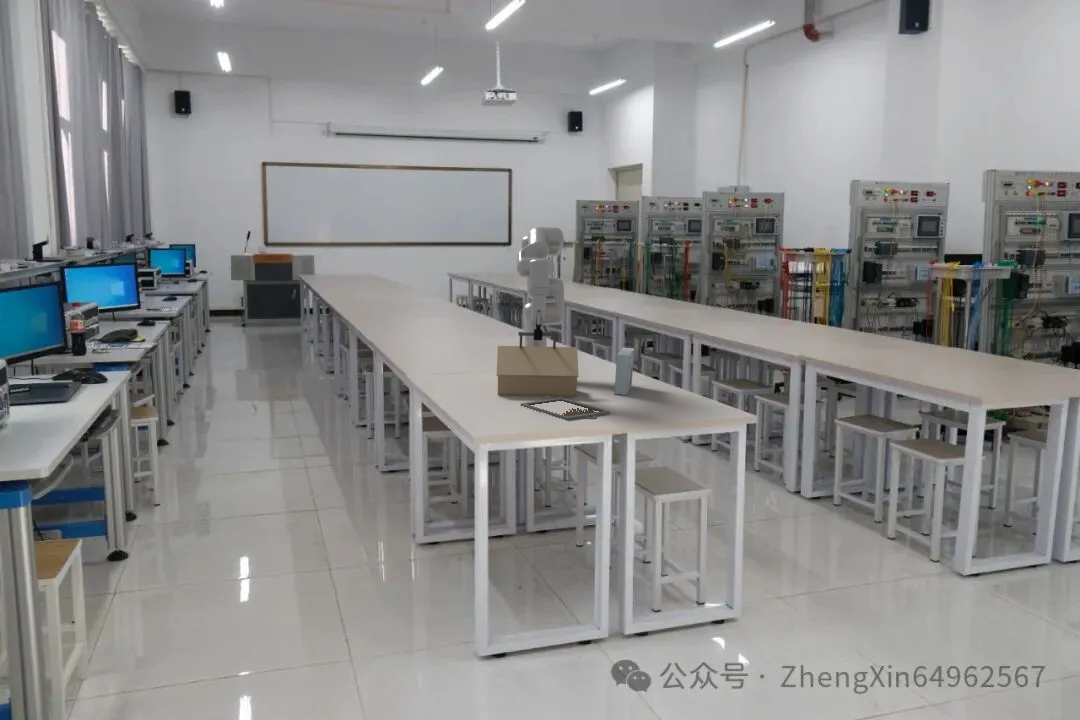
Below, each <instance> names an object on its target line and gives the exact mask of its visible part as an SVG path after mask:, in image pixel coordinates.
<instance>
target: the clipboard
mask: <svg viewBox="0 0 1080 720" xmlns="http://www.w3.org/2000/svg"><path fill="white" fill-rule="evenodd" d="M556 401H564V402H567V403H571V404H574V405H577V406H581V407H584V408H588V411H587V409H586V410H585V409H584V410H585V412H584V410H583V411H582V410H581V409H580V410H579V408H577V411H576V409H573V408H572V410H573V412H572V410H570V409H569V410H570V412H568V411H566V414H565V413H563V414H564V415H563V414H562V415H560V414H557V413H553V412H550V411H547V410H544V409H540V408H537V407H534V406H531V405H535V404H542V403H549V402H556ZM522 406H524V407H523V408H525V407H527V408H526V409H528V408H530V409H529V410H531V409H533V410H532V411H535V410H536V411H535V412H538V411H539V413H541V412H543V413H542V414H544V413H546V414H545V415H547V414H549V415H548V416H551V415H552V416H551V417H554V416H555V417H554V418H557V417H558V418H557V419H560V418H561V420H563V419H564V421H567V422H569V420H570V421H575V420H582V419H583V420H584V419H587V420H596V419H597V417H600V416H601V415H602V416H607V414H609V415H611V411H610V410H607V409H603V408H599V407H596V406H592V405H589V404H586V403H581V402H578V401H575V400H571V399H568V398H565V397H556V398H551V399H550V398H549V399H545V400H536V401H528V402H522V403H521V402H520V407H522ZM593 410H594V411H599V412H594V411H593ZM578 411H579V412H578Z"/></svg>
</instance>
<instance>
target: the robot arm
mask: <svg viewBox="0 0 1080 720" xmlns="http://www.w3.org/2000/svg"><path fill="white" fill-rule="evenodd" d="M564 239H565V236H564V232H563V230H562V229H560V228H559V227H554V226H553V227H547V226H544V227H543V226H542V227H541V226H538V227H537V226H536V227H533V228H532V229H531V230H530V231H529V233H528V235H526V236H523V238H522V240H521V244H520V245H521V249H520V250H519V252H518V254H517V257H516V269H517V271H516V272H517V274H518V276H520V277H522V278H526V292H527V293H526V294H527V297H529V298H530V299H531V302H527V303H526V304H525V305H524V307H523V309H522V310H523V311H522V315H523V323H524V324H523V325H524V332H534V336H524V346H535V347H548V346H547V345H548V344H547V343H548V340H547V339H548V336H542V332H546V331H545V329H544V328H543V326H544V325H545V326H546V325H548V326H552V325H554V326H559V325H562V324H563V322H564V319H565V285H564V282H563V279H561V278H560V277H551V276H552V275H553V273H554V271H555V264H554V262H553V260H552V259H550V258H549V257H548V256H550V257H551V256H552V257H553V256H554V257H555V256H556V257H558V256H560V255H561V254H562V252H563V247H564V244H565V243H564V241H565V240H564ZM547 257H548V258H547ZM546 300H550V301H552V302H546Z"/></svg>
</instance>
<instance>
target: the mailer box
mask: <svg viewBox="0 0 1080 720" xmlns="http://www.w3.org/2000/svg"><path fill="white" fill-rule="evenodd" d="M577 391H578V377H530V376H497V396H498V395H507V396H506V397H534V396H564V397H563V398H577V395H578V393H577Z"/></svg>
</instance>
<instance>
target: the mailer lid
mask: <svg viewBox="0 0 1080 720" xmlns="http://www.w3.org/2000/svg"><path fill="white" fill-rule="evenodd" d="M525 336H534V332H525V331H518V337H519V345H497V355H496V356H497V357H496V376H497V377H498V376H530V377H577V378H579V359H578V358H579V357H578V354H579V353H578V347H577V346H557V337H558V336H559V332H558V331H545V332H542V336H547V337H553V339H552V340H553V341H552V346H547V347H535V346H525V345H523V337H525Z"/></svg>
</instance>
